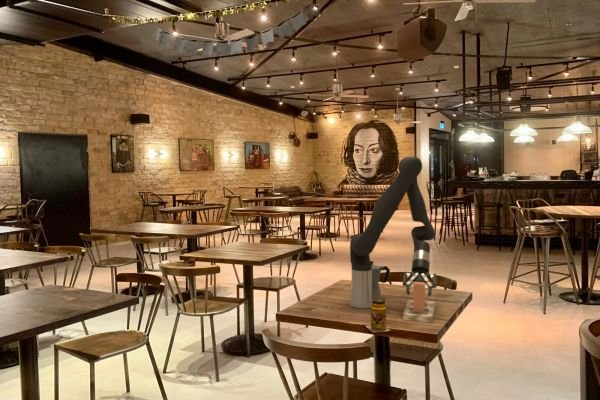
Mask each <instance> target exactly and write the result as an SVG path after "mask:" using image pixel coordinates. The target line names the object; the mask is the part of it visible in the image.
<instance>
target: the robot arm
mask: <svg viewBox="0 0 600 400" xmlns="http://www.w3.org/2000/svg"><path fill="white" fill-rule="evenodd" d="M422 169H423V163H422V160H421V159H420V158H419V157H416V156H408V157H407V156H406V157H404V158H402V159H401V160H400V161H399V163H398V174H397V176H396V178H395V179H394V180H393V182H391V184H389V186H388V187H387V188H386V189H385V190H384V191H383V193H382V194H381V195H380V197H379V198H378V200H377V202H376V203H375V205H374V207H373V209H372V213H371V215H370V216H371V217H370V220H369V222H368V225H367V226H366V228H365V229H364V230H363V232H362V233H357V234H354V235H353V236H352V238H351V240H350V243H349V253H350V254H349V256H350V258H349V259H350V265H351V285H350V301H349V302H350V307H351V308H356V309H371V306H372V264H371V261H372V260H371V258H370V257H371V256H370V254H372V252H373V251H374V249H375V247H376V245H377V243H378V241H379V238H380V236H381V235H382V232H383V231H384V230H385V229H386V226H387V225H388V224H389V222H390V220H391V219H392V217H393V216H394V214H395V212H396V211H397V210H398V207H400V206H399V205H400V204H401V202H402V200H403V199H404V197H405V195H406V196H407V199H408V204H409V209H410V213H411V214H410V215H411V219H412V221H413V222H416V223H417V222H418V223H421V224H423V225H420V226H414V227H413V228H412V229H411V237H412V241H413V246H414V247H413V253H412V255H413V256H412V261H411V263H412V264H411V272H407V271H404V272H403V275H402V276H403V277H402V286H404V287H406V289H405V293H406V294H407V295H410V294H411V293H410V291H411V287H412V286H413V284H414V282H425V286H427V287H428V290H427V297H431V296H432V294H433V289H437V273H433V274H431V273H430V264H431V257H430V254H431V252H430V250H431V246H430V243H429V242H428V241H432V240H434V239H435V237H436V231H435V229H434V228H435V227H434V226H433V224H432V223H431V221H430V219H429V216H428V211H427V207H426V202H425V200H424V197H423V195H422V192H421V189H420V188H419V184H418V178H417V177H418V176H419V175H420V173H421V171H422ZM409 277H410V278H409ZM430 278H431V280H432V281H433V283H432V282H430ZM407 279H409V280H408V281H407Z"/></svg>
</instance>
